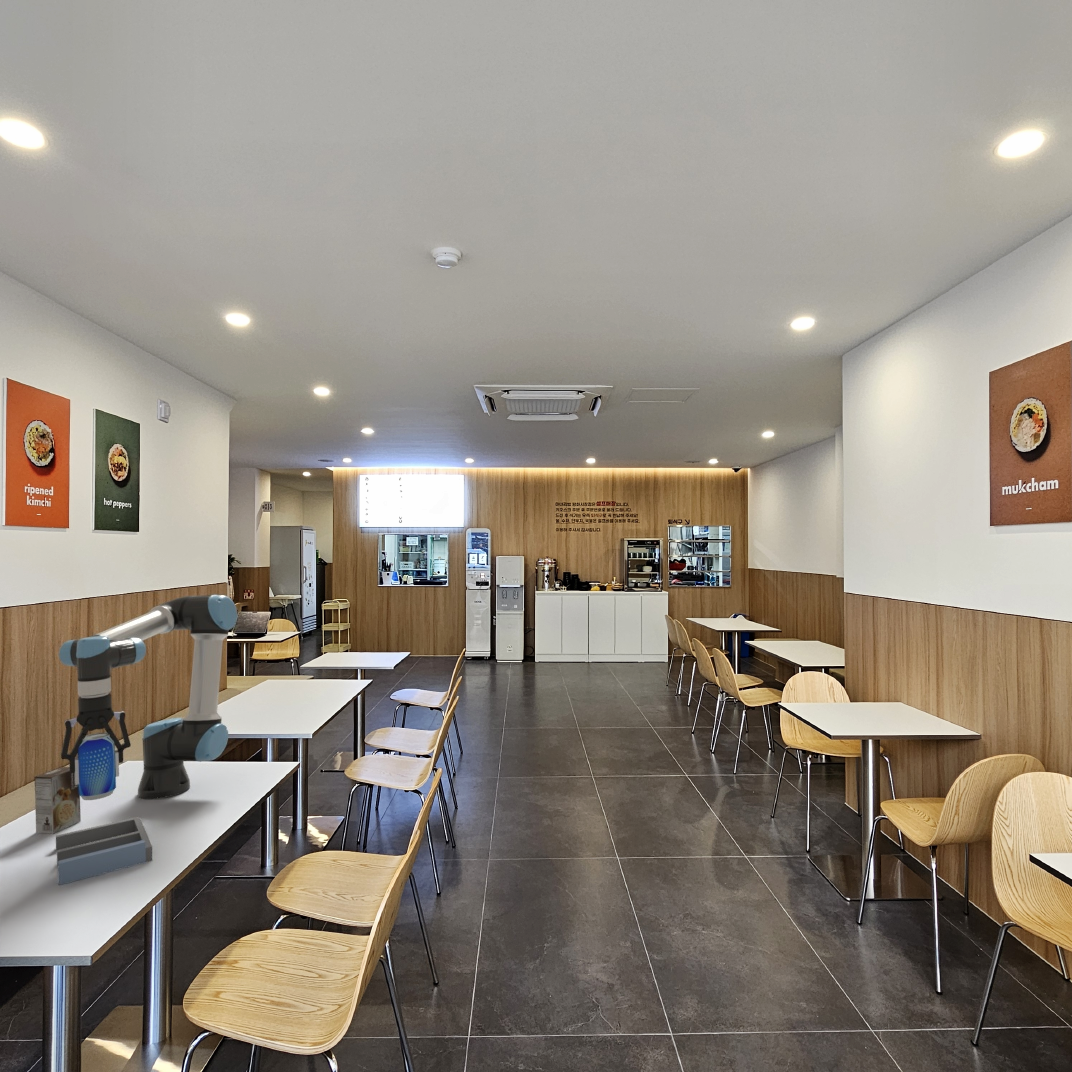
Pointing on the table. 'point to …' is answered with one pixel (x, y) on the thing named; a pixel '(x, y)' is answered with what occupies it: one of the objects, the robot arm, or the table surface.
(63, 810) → the coffee box
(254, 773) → the table surface
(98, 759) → the beer can
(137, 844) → the divided slot tray
